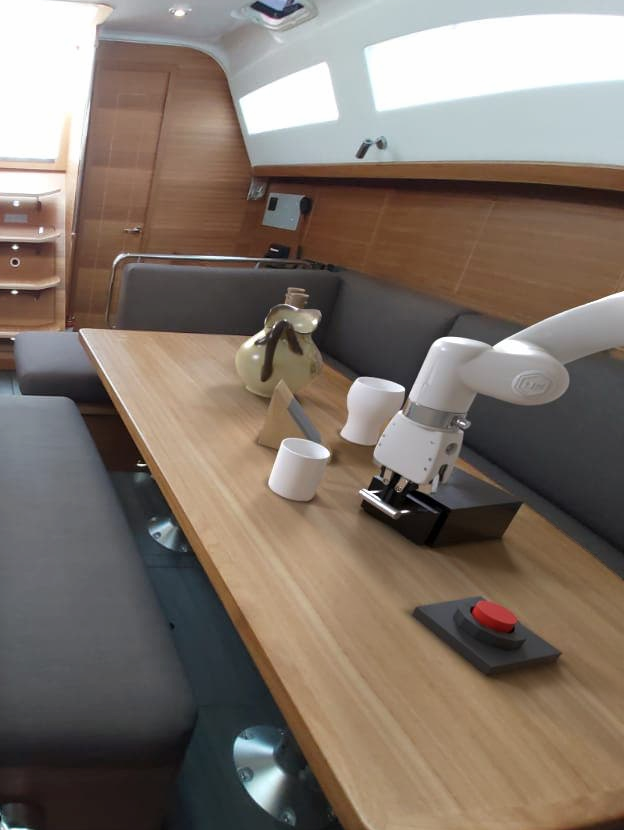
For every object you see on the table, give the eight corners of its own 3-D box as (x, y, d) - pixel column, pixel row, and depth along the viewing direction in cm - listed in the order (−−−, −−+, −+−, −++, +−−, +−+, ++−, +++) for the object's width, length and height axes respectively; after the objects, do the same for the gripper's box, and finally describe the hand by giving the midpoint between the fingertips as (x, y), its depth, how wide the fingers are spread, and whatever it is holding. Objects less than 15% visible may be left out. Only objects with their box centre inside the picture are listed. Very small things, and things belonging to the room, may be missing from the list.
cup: (359, 452, 118) (383, 394, 112) (322, 431, 128) (342, 377, 121) (394, 448, 121) (420, 391, 114) (355, 428, 130) (377, 375, 123)
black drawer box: (429, 550, 86) (452, 509, 83) (365, 507, 98) (382, 469, 94) (499, 541, 90) (524, 500, 86) (429, 499, 101) (448, 462, 97)
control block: (473, 606, 75) (486, 586, 73) (553, 664, 66) (570, 643, 64) (409, 617, 73) (421, 597, 71) (484, 678, 64) (499, 657, 62)
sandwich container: (331, 467, 111) (355, 407, 105) (256, 445, 119) (274, 388, 113) (334, 453, 117) (357, 395, 111) (263, 433, 126) (281, 378, 119)
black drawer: (394, 548, 85) (411, 516, 82) (338, 508, 95) (351, 478, 92) (483, 536, 89) (502, 505, 86) (420, 499, 99) (435, 469, 96)
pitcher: (286, 380, 161) (310, 303, 150) (329, 411, 139) (362, 324, 129) (216, 377, 161) (236, 300, 150) (249, 407, 140) (275, 320, 129)
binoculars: (259, 352, 187) (279, 285, 177) (289, 356, 184) (311, 288, 173) (262, 368, 170) (283, 295, 160) (295, 373, 167) (319, 299, 156)
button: (486, 608, 70) (492, 598, 69) (518, 631, 66) (525, 621, 66) (464, 611, 69) (469, 602, 68) (495, 635, 66) (502, 625, 65)
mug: (265, 468, 110) (279, 427, 105) (308, 478, 107) (324, 436, 102) (268, 496, 100) (283, 452, 95) (315, 508, 97) (333, 462, 92)
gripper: (501, 433, 75) (447, 530, 83) (407, 394, 88) (368, 481, 96) (462, 436, 74) (410, 534, 82) (372, 396, 87) (336, 484, 95)
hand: (388, 505), depth 89 cm, fingers closed
